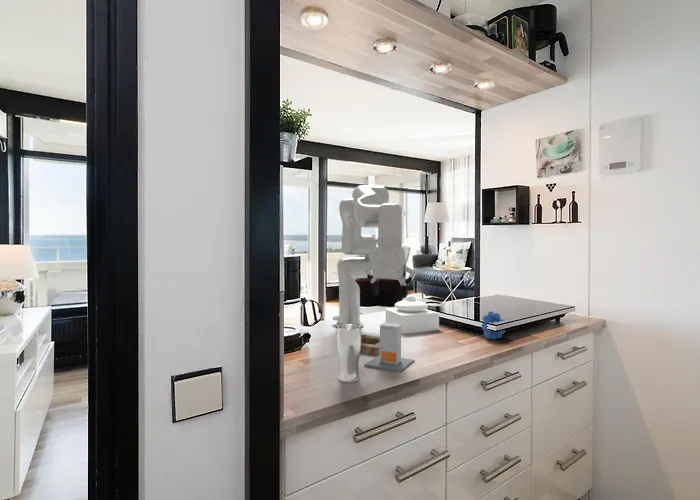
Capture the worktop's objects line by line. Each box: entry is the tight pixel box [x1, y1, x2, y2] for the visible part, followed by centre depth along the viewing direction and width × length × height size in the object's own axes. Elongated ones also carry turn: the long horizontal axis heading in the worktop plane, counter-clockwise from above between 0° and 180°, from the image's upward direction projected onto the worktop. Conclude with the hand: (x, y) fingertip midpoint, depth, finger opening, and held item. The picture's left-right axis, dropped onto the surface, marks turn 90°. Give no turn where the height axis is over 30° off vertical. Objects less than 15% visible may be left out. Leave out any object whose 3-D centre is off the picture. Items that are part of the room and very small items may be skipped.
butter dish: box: [384, 294, 440, 335], centre depth 166 cm, size 18×18×16 cm
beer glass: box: [336, 324, 362, 384], centre depth 105 cm, size 7×7×15 cm
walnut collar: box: [360, 334, 380, 357], centre depth 136 cm, size 14×14×3 cm
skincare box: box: [379, 322, 402, 365], centre depth 117 cm, size 6×4×12 cm
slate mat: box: [363, 355, 415, 374], centre depth 117 cm, size 12×12×1 cm
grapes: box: [480, 311, 506, 340], centre depth 145 cm, size 12×7×12 cm, turn 115°
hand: (389, 296), depth 117 cm, fingers open, 9 cm apart
